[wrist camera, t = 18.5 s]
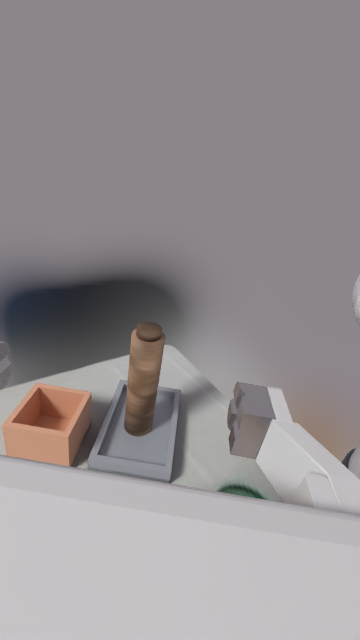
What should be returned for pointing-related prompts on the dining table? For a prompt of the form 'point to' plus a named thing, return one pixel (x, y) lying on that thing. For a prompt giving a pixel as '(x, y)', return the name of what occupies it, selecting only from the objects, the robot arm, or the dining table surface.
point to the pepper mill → (143, 377)
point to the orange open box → (48, 425)
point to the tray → (137, 439)
